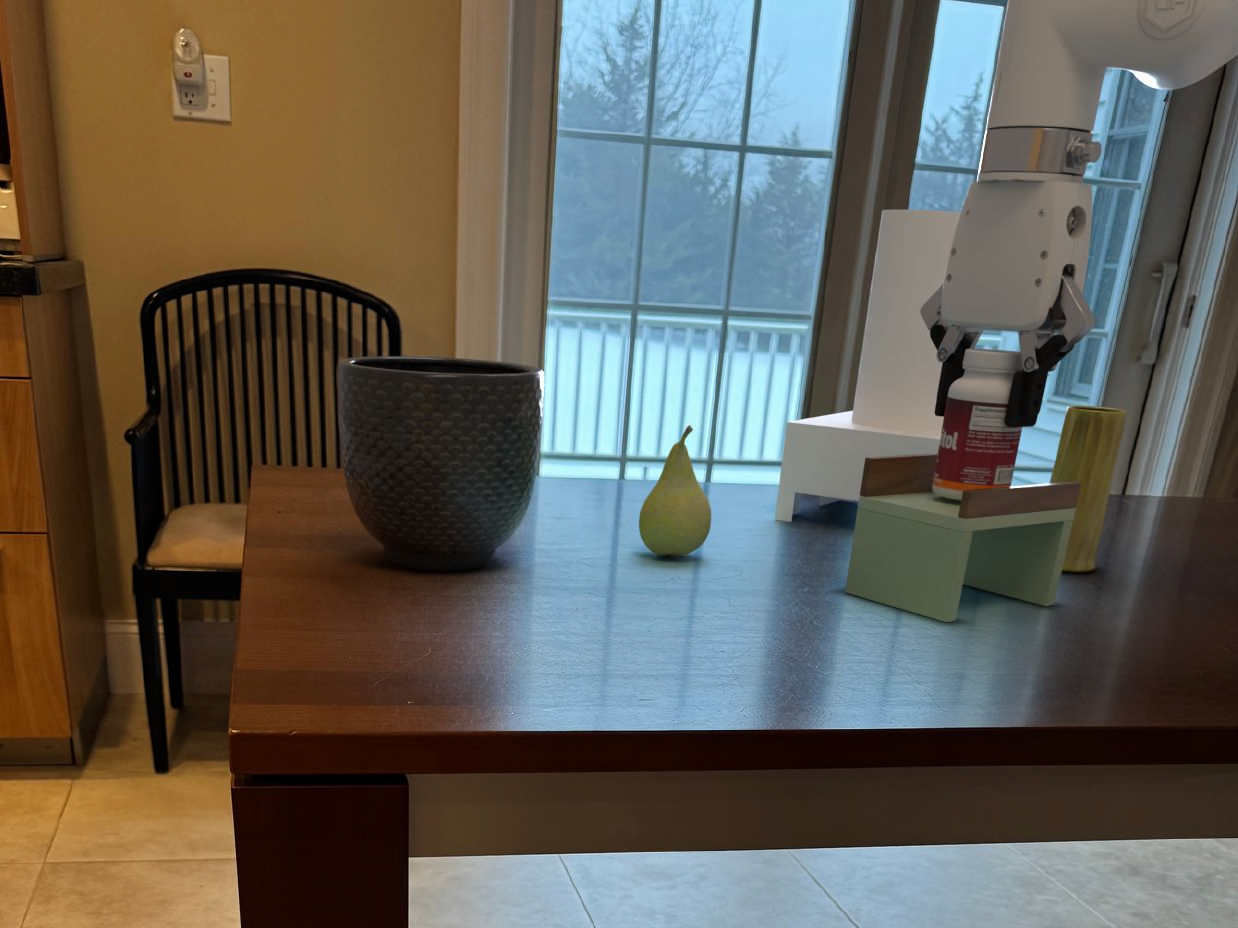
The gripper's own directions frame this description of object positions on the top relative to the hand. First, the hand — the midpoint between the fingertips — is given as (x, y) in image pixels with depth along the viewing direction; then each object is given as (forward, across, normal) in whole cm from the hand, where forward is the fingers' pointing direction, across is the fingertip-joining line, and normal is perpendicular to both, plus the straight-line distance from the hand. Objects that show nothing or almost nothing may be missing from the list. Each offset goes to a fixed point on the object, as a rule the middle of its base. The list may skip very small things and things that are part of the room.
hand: (984, 418), depth 104 cm
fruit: (+15, +23, +12) cm, 29 cm away
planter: (+15, +30, +33) cm, 47 cm away
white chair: (+15, +29, -24) cm, 40 cm away
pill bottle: (+6, 0, 0) cm, 6 cm away
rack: (+14, 0, 0) cm, 14 cm away
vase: (+15, +5, -22) cm, 27 cm away
